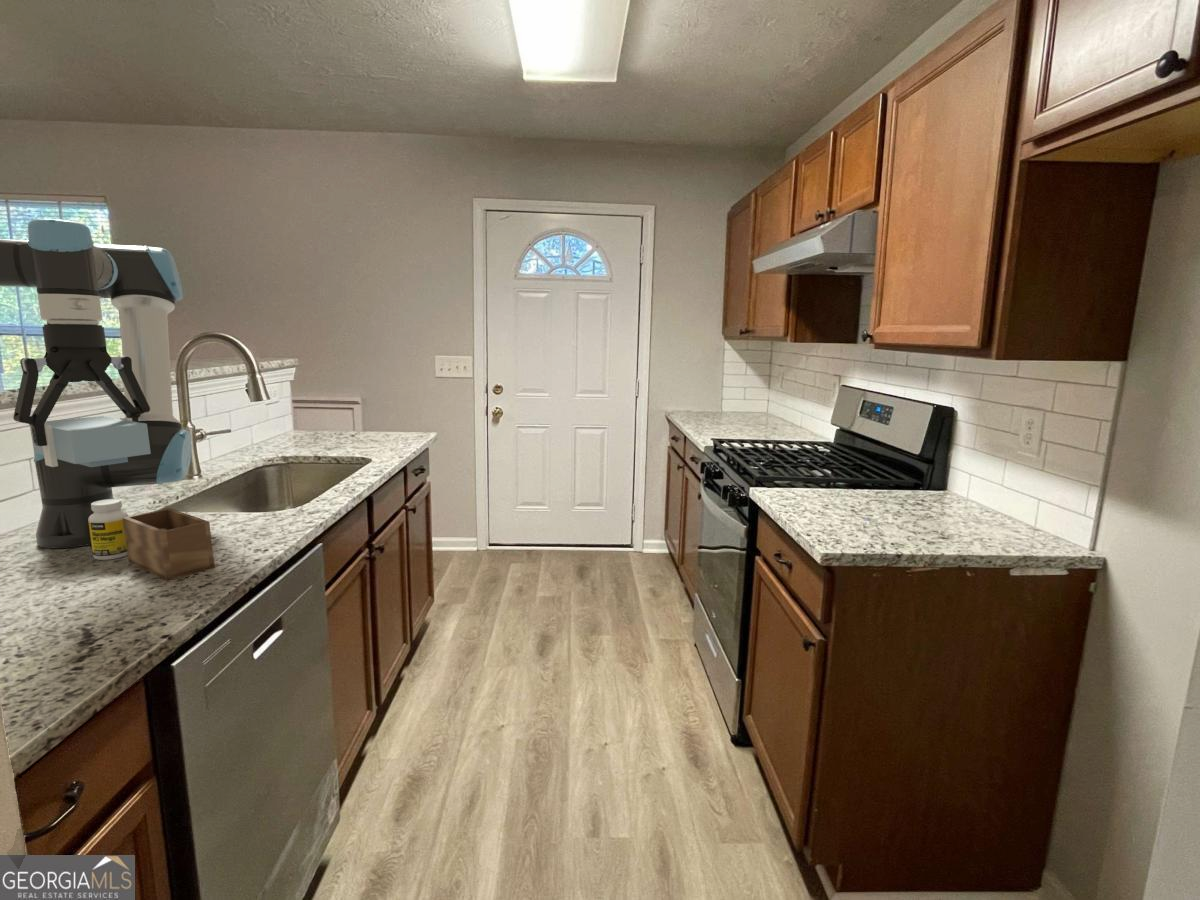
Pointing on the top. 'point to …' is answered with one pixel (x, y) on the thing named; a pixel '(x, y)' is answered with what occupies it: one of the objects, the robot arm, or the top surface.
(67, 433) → the light blue block
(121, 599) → the top surface
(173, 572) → the box
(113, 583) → the top surface
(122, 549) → the pill bottle
